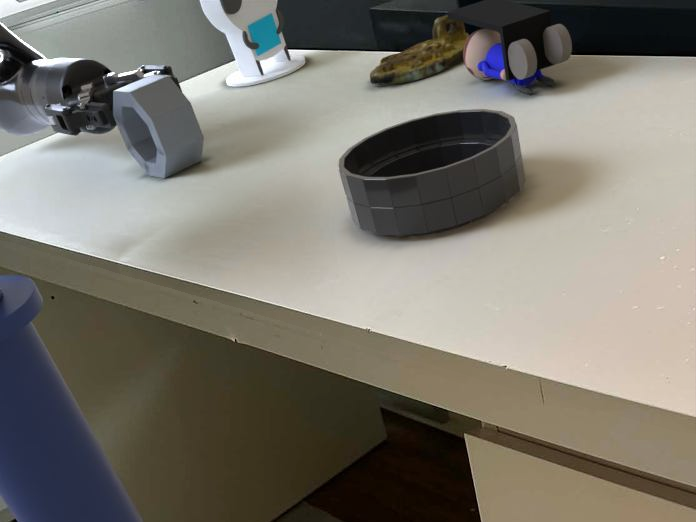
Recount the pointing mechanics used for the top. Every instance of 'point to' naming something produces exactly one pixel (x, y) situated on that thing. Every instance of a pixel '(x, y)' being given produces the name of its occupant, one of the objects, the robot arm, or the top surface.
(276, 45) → the panda figurine
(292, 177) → the top surface
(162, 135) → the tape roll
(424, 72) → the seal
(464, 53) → the figurine character
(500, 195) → the bowl
